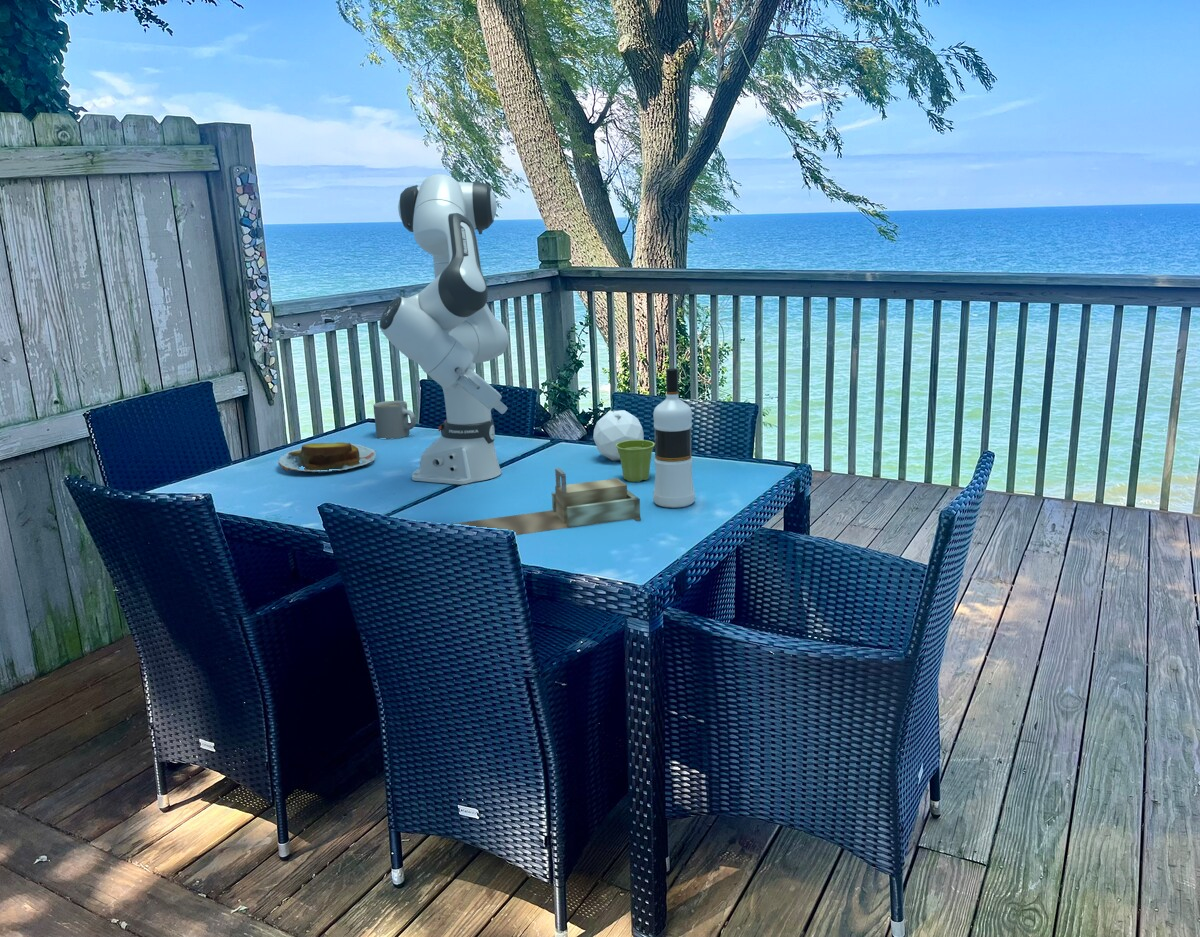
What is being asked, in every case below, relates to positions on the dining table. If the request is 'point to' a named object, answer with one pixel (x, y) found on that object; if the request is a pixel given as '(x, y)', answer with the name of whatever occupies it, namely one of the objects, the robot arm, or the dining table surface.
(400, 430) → the coffee mug
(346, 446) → the food on plate
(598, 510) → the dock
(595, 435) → the geodesic sphere
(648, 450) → the plant pot
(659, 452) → the vodka
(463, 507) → the dining table surface
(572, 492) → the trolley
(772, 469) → the dining table surface
